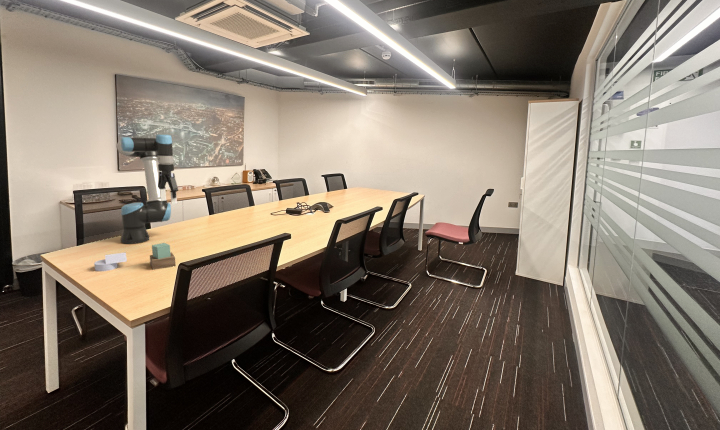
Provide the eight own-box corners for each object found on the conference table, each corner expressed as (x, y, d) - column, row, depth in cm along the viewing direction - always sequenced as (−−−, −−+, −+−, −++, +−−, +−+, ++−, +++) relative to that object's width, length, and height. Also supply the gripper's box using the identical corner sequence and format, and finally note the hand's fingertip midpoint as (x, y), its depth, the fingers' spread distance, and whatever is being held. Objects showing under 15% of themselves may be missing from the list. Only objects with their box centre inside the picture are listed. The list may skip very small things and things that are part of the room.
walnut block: (150, 264, 182) (149, 255, 181) (172, 261, 188) (171, 252, 187) (153, 270, 174) (152, 260, 173) (175, 266, 180) (175, 257, 179)
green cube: (152, 256, 179) (151, 245, 178) (165, 253, 184) (164, 242, 182) (158, 259, 175) (157, 247, 174) (170, 256, 180) (169, 245, 179)
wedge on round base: (126, 262, 183) (94, 267, 175) (124, 250, 181) (93, 254, 174) (127, 267, 176) (95, 272, 168) (126, 254, 174) (93, 259, 167)
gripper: (149, 162, 197) (152, 200, 201) (168, 165, 182) (171, 205, 186) (163, 162, 203) (166, 198, 207) (183, 164, 187) (186, 204, 191)
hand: (168, 202), depth 196 cm, fingers open, 13 cm apart
